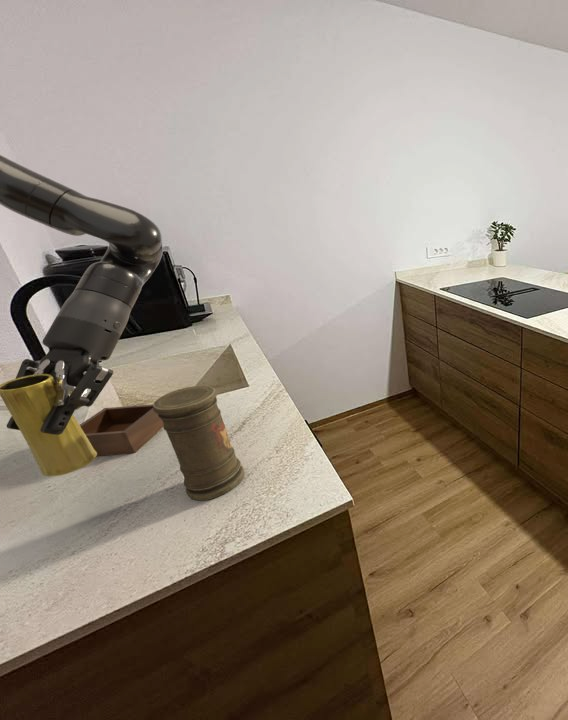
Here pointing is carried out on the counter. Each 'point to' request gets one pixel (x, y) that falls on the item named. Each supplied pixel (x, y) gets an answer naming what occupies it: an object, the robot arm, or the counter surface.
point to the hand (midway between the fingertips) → (33, 431)
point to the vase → (29, 411)
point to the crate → (121, 429)
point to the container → (200, 441)
